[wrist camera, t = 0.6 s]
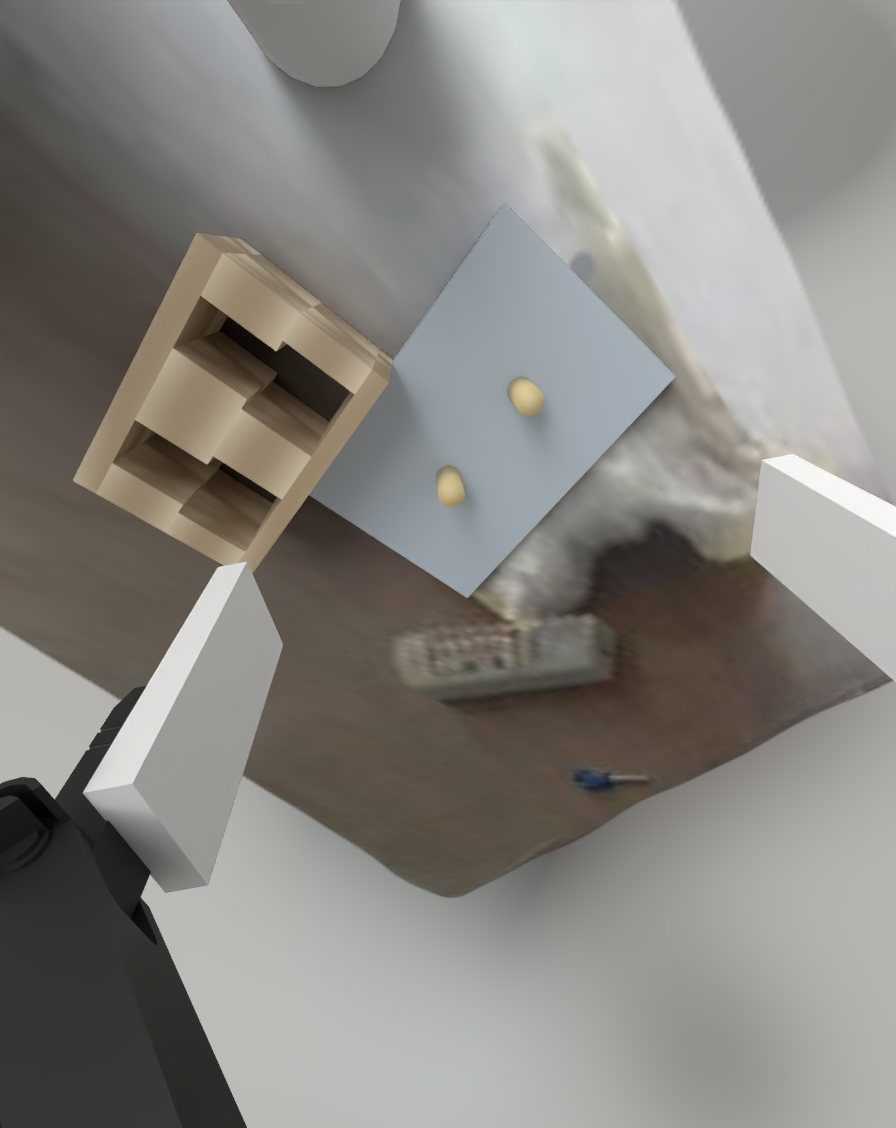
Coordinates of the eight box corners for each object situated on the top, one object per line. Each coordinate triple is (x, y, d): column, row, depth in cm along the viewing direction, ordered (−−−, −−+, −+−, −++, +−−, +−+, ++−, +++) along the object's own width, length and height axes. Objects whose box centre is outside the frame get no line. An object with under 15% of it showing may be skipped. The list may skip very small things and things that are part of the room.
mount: (305, 484, 36) (293, 509, 32) (502, 205, 29) (515, 197, 25) (466, 589, 41) (471, 621, 37) (667, 372, 34) (698, 386, 30)
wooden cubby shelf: (133, 440, 34) (72, 480, 28) (241, 238, 29) (196, 232, 23) (274, 527, 37) (248, 579, 31) (393, 359, 32) (388, 382, 26)
